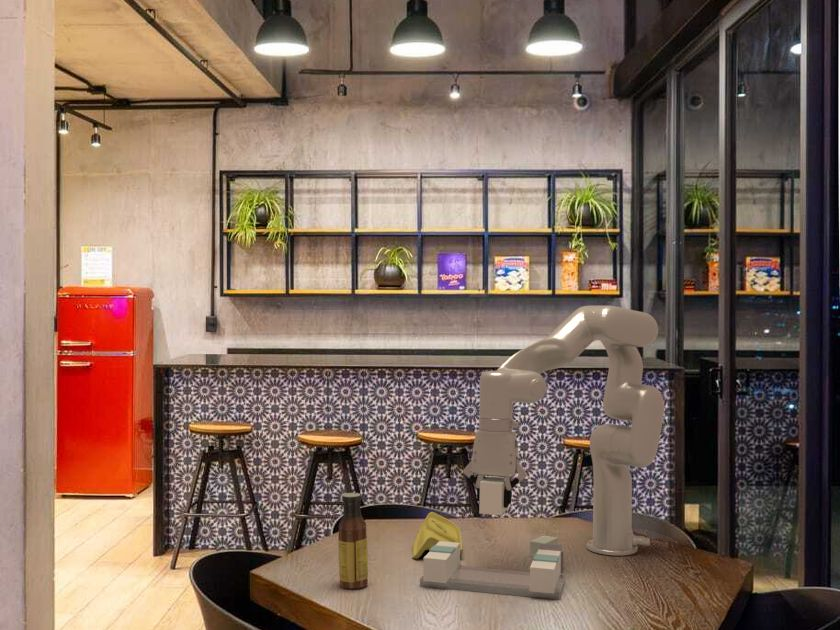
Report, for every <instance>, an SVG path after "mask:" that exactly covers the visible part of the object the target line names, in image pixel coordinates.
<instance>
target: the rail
mask: <svg viewBox="0 0 840 630" xmlns="http://www.w3.org/2000/svg"><path fill="white" fill-rule="evenodd" d="M565 576H566V575H565V574H564V575H563V574H560V577H559V580H558V583H557V586H556V589H555V592H554V594H553V593H543V592H532V591H530V571H518V570H511V569H498V568H486V567H473V566H464V565H459V567H458V568H457V569H456V571H455V572H454V573H453V574H452V576H451V577H450V578H449V580H448V581H447V582H446V583H439V582H428V581H423V575H422V577H421V578H420V579H419V586H420V587H425V588H436V589H446V590H456V591H467V592H468V591H469V592H476V593H477V592H478V593H484V594H485V593H486V594H497V595H499V594H500V595H505V596H516V595H518V596H519V597H526V596H529V597H528V598H536V597H539V599H547V598H548V599H549V600H557V599H558V601H559V600H560V598H561V596H560V595H562V592H563V589H564V585H565V582H566V581H565V580H566V577H565ZM518 596H517V597H518Z"/></svg>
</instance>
